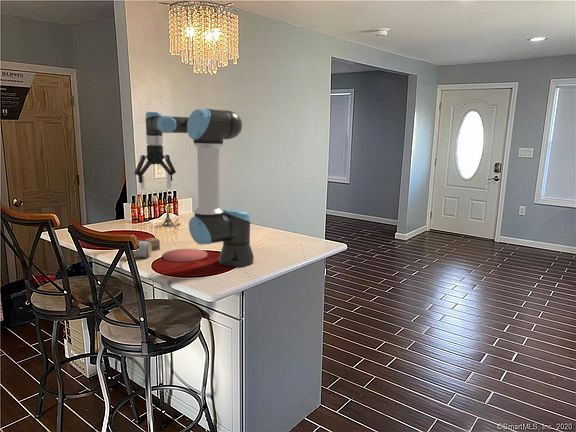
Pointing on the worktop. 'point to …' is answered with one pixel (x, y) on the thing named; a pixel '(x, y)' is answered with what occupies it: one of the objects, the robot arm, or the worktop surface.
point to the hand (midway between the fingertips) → (156, 188)
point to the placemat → (184, 255)
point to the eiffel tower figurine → (169, 221)
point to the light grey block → (143, 250)
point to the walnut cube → (154, 243)
